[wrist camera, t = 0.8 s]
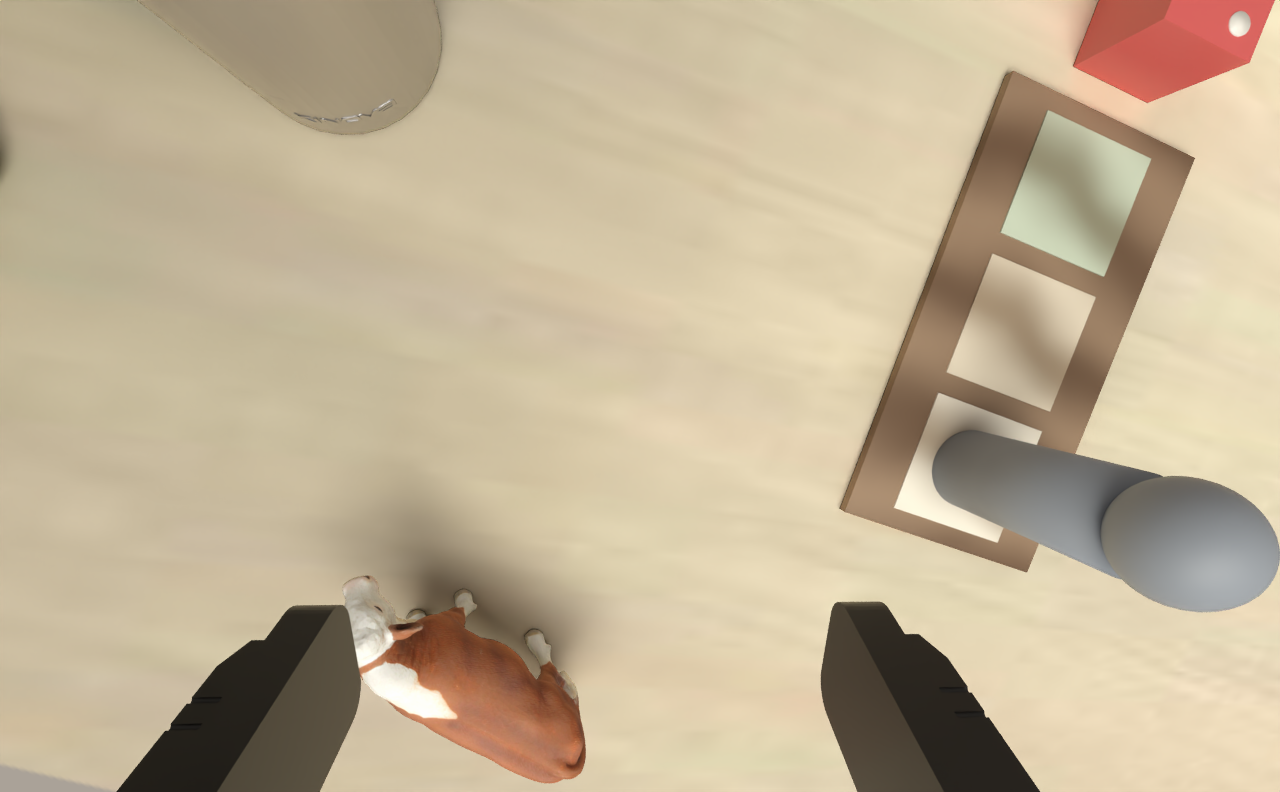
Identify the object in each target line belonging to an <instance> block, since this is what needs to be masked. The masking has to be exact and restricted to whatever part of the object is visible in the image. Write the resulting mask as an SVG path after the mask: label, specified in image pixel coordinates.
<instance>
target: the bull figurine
mask: <svg viewBox="0 0 1280 792" xmlns="http://www.w3.org/2000/svg"><path fill="white" fill-rule="evenodd" d="M343 594H344V596H345V599H346V602H345V607H346V609H347V610H348V613H349V616H350V622H351V627H352V633H353V639H354V644H355V650H356V655H357V661H358V666H359V672H360V676H361V678H362V680H363V681H364V682H365V684H366V685H367V686H368V687H369V688H370V689H371V690H372V691H373V692H374V693H375V694H376V695H378V696H380V697H382V698H384V699H385V700H387V701H388V702H389V703H390V704H391V705H392V706H393V707H394V708H395V709H396V710H397V711H398V712H400V713H401V714H402V715H404V716H406V717H408V718H410V719H412V720H414V721H417V722H419V723H422V724H424V725H425V726H426V727H428V728H429V729H431V730H432V731H434V732H435V733H437V734H439V735H441V736H443V737H445V738H447V739H448V740H450V741H452V742H454V743H456V744H458V745H460V746H462V747H464V748H466V749H469V750H471V751H473V752H475V753H477V754H480V755H482V756H484V757H486V758H488V759H490V760H492V761H494V762H495V763H497V764H499V765H500V766H502V767H504V768H506V769H508V770H510V771H512V772H514V773H516V774H518V775H521V776H523V777H526V778H528V779H531V780H534V781H537V782H541V783H555V782H559V781H561V780H562V779H572V778H574V777H576V776H578V775H579V774H580V773H581V771H582V769H583V766H584V763H585V757H586V748H585V738H584V732H583V727H582V723H581V719H580V712H579V700H578V693H577V689H576V686H575V684H574V683H573V682H572V680H571V679H570V678H569V676H568V674H567V673H566V672H564V671H561V672H560V673H558V671H557V669H556V668H555V666H554V665H553V663H552V661H551V658H550V651H551V645H550V644H546V643H545V640H544V637H543V633H542V632H541V631H539V630H535V629H533V630H530V631H529V632H528V633H527V634H525V642H526V644H527V645H528V647H529V649H530V650H531V651H532V653H533V654H534V655H535V656H536V658H537V659H538V661H539V664H540V669H541V674H540V676H539V677H538V679H536V678H534V677H533V675H532V674H531V673H530V671H529V670H528V668H527V666H526V664H525V663H524V661H523V660H522V659H521V658H520V656H519V655H518V654H517V653H516V652H515V651H513V650H512V649H511V648H509V647H508V646H506V645H504V644H502V643H500V642H498V641H495V640H491V639H485V638H480V637H478V636H477V635H475V634H473V633H472V632H470V631H468V630H466V629H465V626H464V624H465V620H466V616H467V615H469V614H470V612H472V611H474V610H475V609H476V607H477V605H476V604H474V603H473V600H472V594H471V592H470V591H468V590H466V589H462V590H459V591H457V592H456V593H455V596H454V601H455V606H456V607H454V608H451V609H450V610H448V611H444V612H441V613H439V614H434V615H428V616H426V614H425V612H423V611H421V610H414V611H411V612H410V613H409V614H408V616H407V619H406V620H403V619H400V618H397V616H396V613H395V610H394V608H393V607H392V605H391V603H389V602H388V601H387V600H386V599H385V598H384V597H382V596H381V595H380V594H379V585H378V583H377V581H376V580H375V578H373V577H372V576H360V577H356V578H353V579H351V580H349V581H348V582H346V583H345V584H344V586H343Z"/></svg>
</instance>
